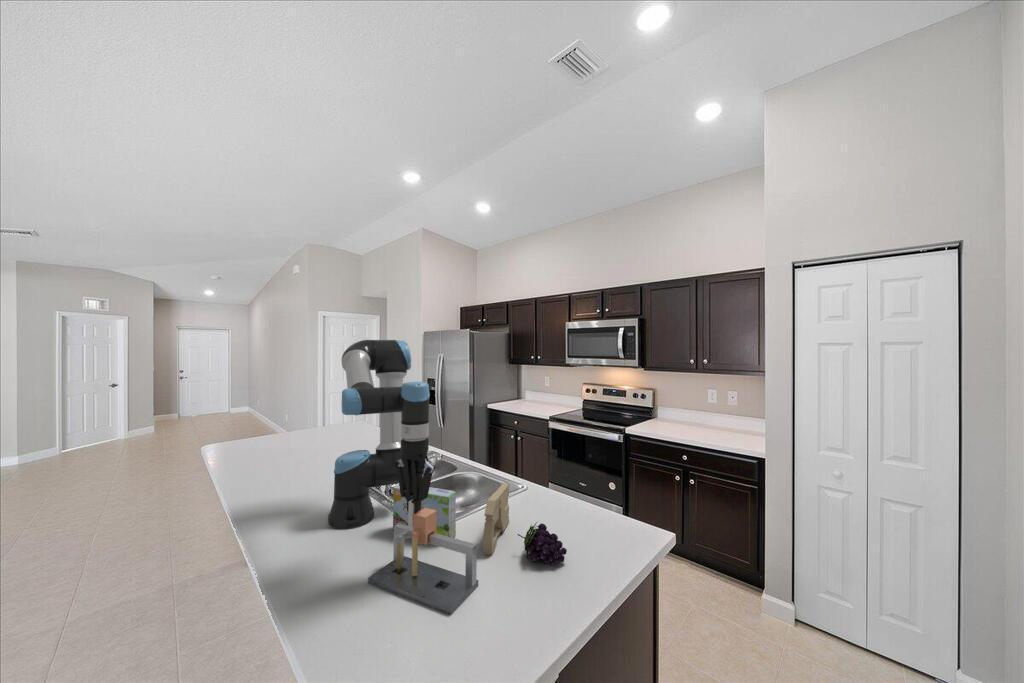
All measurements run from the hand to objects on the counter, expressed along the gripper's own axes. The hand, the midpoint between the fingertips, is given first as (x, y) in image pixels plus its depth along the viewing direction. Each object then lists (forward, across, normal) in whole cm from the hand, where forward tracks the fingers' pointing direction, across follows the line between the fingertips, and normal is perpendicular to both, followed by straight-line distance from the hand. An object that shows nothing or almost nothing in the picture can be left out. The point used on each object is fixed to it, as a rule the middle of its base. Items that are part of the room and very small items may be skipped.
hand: (413, 524), depth 104 cm
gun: (+13, +12, +27) cm, 32 cm away
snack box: (+13, -10, +17) cm, 24 cm away
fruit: (+13, +29, +21) cm, 38 cm away
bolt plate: (+13, +7, -4) cm, 15 cm away
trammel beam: (+12, +7, -2) cm, 14 cm away
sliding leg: (+11, +4, -1) cm, 11 cm away
